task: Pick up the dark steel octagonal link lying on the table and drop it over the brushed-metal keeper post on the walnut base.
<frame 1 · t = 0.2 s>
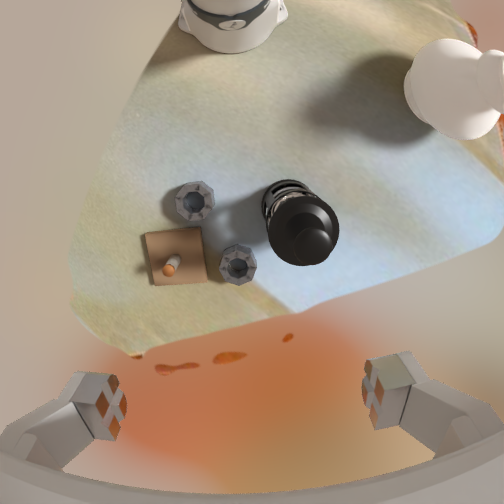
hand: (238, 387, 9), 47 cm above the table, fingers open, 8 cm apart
decorative vase: (430, 93, 48), on the table
link: (196, 198, 55), on the table
french press: (290, 207, 55), on the table
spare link: (238, 261, 58), on the table
keeper: (177, 255, 58), on the table
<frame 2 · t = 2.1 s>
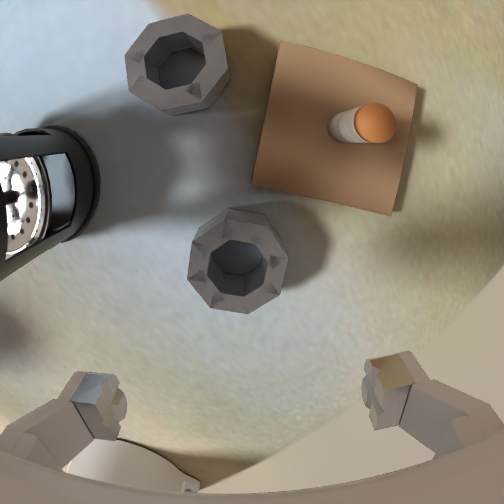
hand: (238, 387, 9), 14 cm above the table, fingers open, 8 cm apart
link: (238, 251, 23), on the table
french press: (48, 180, 21), on the table
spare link: (184, 72, 19), on the table
keeper: (335, 129, 21), on the table
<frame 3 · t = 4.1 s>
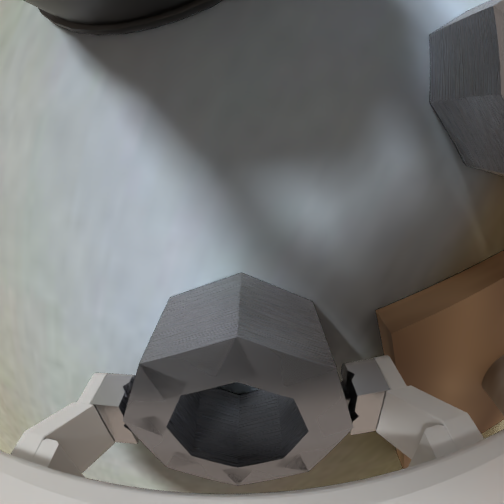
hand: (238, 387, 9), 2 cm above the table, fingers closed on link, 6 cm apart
link: (240, 356, 11), on the table, touching gripper
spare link: (494, 93, 8), on the table
keeper: (482, 353, 11), on the table
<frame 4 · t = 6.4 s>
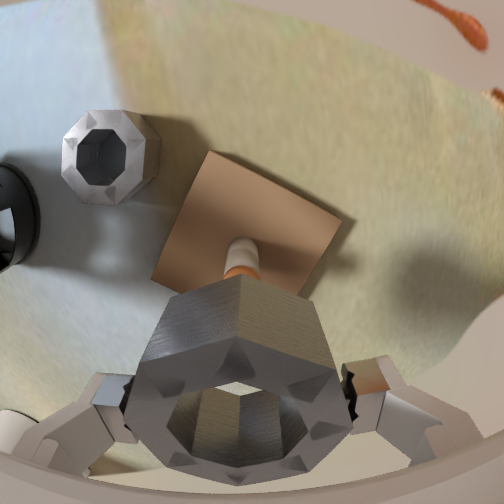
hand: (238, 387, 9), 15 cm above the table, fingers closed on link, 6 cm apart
link: (240, 357, 11), point 13 cm above the table, touching gripper
french press: (3, 209, 22), on the table
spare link: (120, 154, 21), on the table
keeper: (243, 244, 23), on the table
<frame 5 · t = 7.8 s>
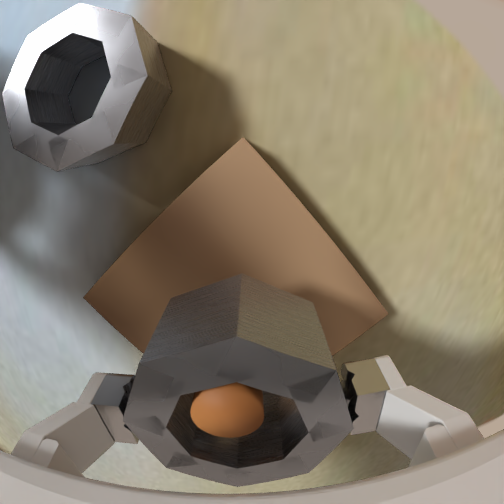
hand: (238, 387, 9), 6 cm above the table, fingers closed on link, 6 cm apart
link: (240, 358, 11), point 4 cm above the table, touching gripper
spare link: (103, 92, 12), on the table
keeper: (235, 294, 15), on the table
when the fingers open (5 cm above the table, at t = 9.1 s): link drops 1 cm, resting on keeper.
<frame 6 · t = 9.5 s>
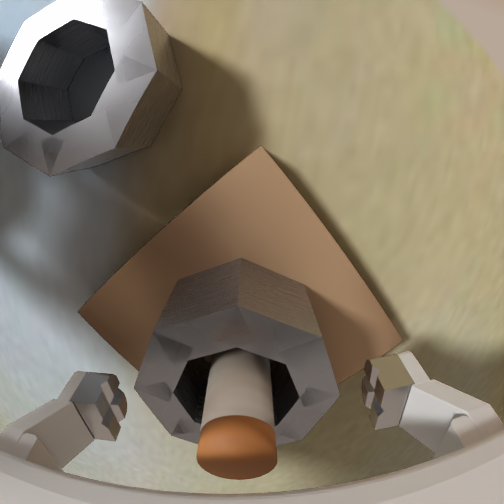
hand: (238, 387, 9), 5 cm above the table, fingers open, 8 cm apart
link: (239, 335, 12), point 1 cm above the table, touching keeper
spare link: (105, 88, 11), on the table
keeper: (242, 315, 14), on the table
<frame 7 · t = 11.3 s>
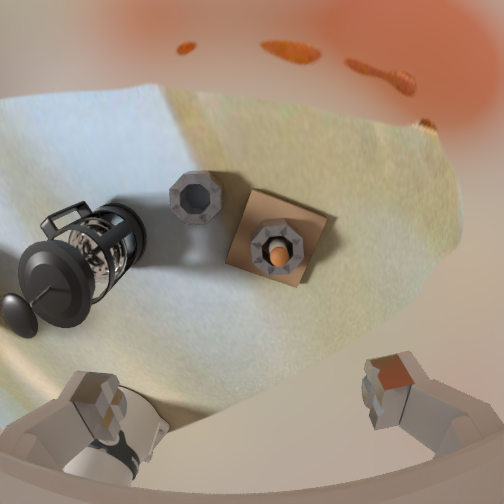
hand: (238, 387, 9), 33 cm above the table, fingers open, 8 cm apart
link: (275, 242, 40), point 1 cm above the table, touching keeper
french press: (114, 232, 42), on the table
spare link: (199, 194, 40), on the table
keeper: (275, 237, 42), on the table
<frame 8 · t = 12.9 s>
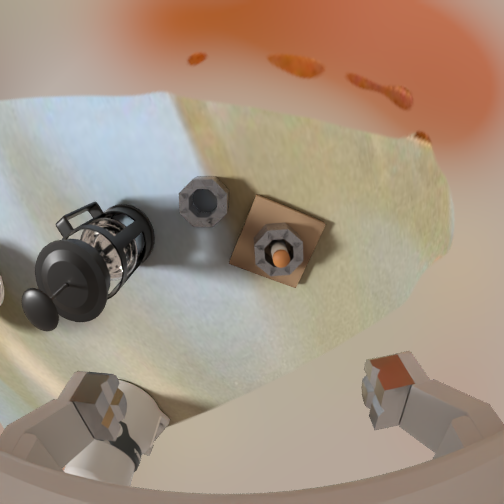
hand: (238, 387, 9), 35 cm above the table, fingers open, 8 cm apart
link: (276, 244, 43), point 1 cm above the table, touching keeper
french press: (123, 232, 44), on the table
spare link: (206, 198, 43), on the table
keeper: (276, 240, 45), on the table
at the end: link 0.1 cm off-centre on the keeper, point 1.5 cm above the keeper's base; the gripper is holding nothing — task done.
